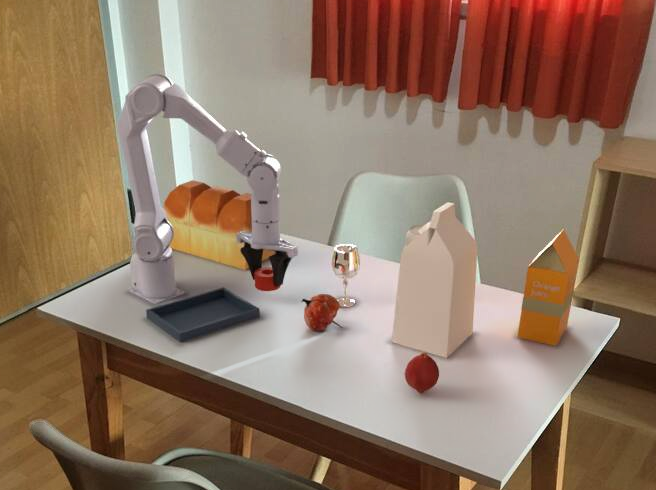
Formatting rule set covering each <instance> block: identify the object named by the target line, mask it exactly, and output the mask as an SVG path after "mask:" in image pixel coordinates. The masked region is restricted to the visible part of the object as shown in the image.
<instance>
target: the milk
mask: <svg viewBox="0 0 656 490" xmlns="http://www.w3.org/2000/svg"><path fill="white" fill-rule="evenodd" d="M455 206H456V205H455V203H454V202H448V201H447V202H445V203H444V204H442V205H441V206H439V207H438V208H436V209H435V210H433V212H432V215H431V219H430V221H428V222H427V223H425V224H423V225H424V226H423V227H422V228H420V229H419V230H418V231H419V233H420V234H421V235H419V236H418V237H417V238H415V239H414V240H413V241H411V242H410V243H409V244H408V245H407V246H406V245H405V246H404V248H403V249H402V251H401V255H400V261H399V272H398V279H397V280H398V281H397V290H396V299H395V309H394V317H393V326H392V335H391V343H393V344H397V345H400V346H403V347H407V348H410V349H414V350H418V351H421V352H426V353H427V354H432V355H435V356H438V357H441V358H446V359H447V358H448V357H449V356H450V355H451V354H452V353H453V352H455V351H456V350H457V348H459V347H460V346H461V345H462V344H463V343H464V342H466V340H467V339H468V338H469V337H470V336H472V335H473V331H474V317H475V316H474V315H475V314H474V313H475V297H476V282H477V281H476V279H477V265H478V264H477V262H478V244H477V242H476V239H475V238H474V236H473V235H471V233H470V232H469V231H468V230H467V228H466V227H465V226H464V225H463V223H461V221H460V220H459V219H458V218H457V217H456V208H455Z"/></svg>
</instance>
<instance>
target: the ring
mask: <svg viewBox="0 0 656 490" xmlns="http://www.w3.org/2000/svg"><path fill="white" fill-rule="evenodd" d="M254 278H255V280H254V288H255V289H256V290H257V291H261V292H274V291H277V290H279V289H280V288H281V286H282V285H280V286H278V287H275V286H274V282H273V270H272V266H270V267H269V266H264V267H263V266H262V268H259V269H257V270H255V272H254Z"/></svg>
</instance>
